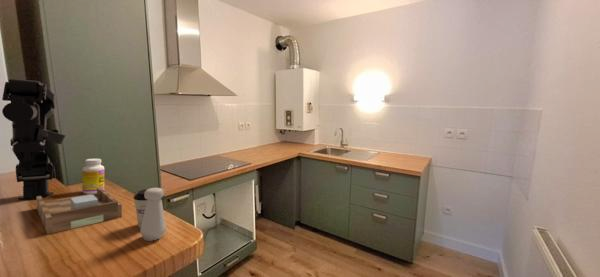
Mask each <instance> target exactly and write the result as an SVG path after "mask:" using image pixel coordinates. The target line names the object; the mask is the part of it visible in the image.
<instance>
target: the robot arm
mask: <svg viewBox="0 0 600 277" xmlns="http://www.w3.org/2000/svg"><path fill="white" fill-rule="evenodd" d="M3 88H4V89H3V94H2V101H6V102H10V103H7V104H5V105H4V106H3V108H2V115H3V117H4V118H5V119H6V120H8V121H10V122H11V128H12V129H11V131H12V137H11V138H10V140H9V141H10V147H11V146H12V148H11V150H12V152H13V154H14V156H15V157H16V159H17V160H18V164H17V163H16V166H15V177H16V182H17V183H20V182H22V185H23V186H22V195H21V196H18V197H17V198H18V200H36V196H41V197H42V199H44V198H45V197H49V196H50V195H51V196H52V195H53V194H54V191H49V180H50V181H51V180H53V179H56V169H55V166H54V165H53V163H52V162H51V161H50V158H49V155H47V153H46V152H45V151H46V141H47V142H52V143H55V144H58V145H62V144H63V142H64V140H65V138H66V136H67V135H65V134H63V133H60V132H59V129H55V128H50V129H49V130H48V129H47V120H48V119H49V118H50V117H51V116H52V115H53V114H54V110H55V109H56V97H55V93H53V92H52V91H50V90H49V89H48V88H47V84H46V83H44V82H41V81H40V80H39V81H38V80H29V79H22V78H21V79H20V78H9V79H8V81H5V83H4V87H3Z"/></svg>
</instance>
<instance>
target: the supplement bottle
mask: <svg viewBox="0 0 600 277" xmlns="http://www.w3.org/2000/svg"><path fill="white" fill-rule="evenodd" d="M81 175H82V176H81V179H82V183H81V184H82V186H81V188H82V189H81V190H82V193H83V194H84V195H88V194H94V193H97V188H98V187H101V188H102V189H103V190H104V191H105V166H104V165H102V158H87V159H85V166H83V167H82V169H81Z"/></svg>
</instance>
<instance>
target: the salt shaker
mask: <svg viewBox="0 0 600 277" xmlns="http://www.w3.org/2000/svg"><path fill="white" fill-rule="evenodd" d="M146 189H147V190H146V191H145V193H144V197H145V199H148V200H147V204H146V208H145V212H144V217H143V221H142V225H141V228H139V230H140V234H141V237H142V238H143V240H144V241H147V242H154V241H158V240H160V239H161V238H162V237H163V236H164V234H165V231H166V229H167V222H166V218H165V213H164V212H165V211H164V207H163V202H162V198H163V197H164V195H165V194H164V193H165V191H164V189H163V188H160V187H151V188H146ZM157 239H158V240H157ZM153 240H154V241H153Z"/></svg>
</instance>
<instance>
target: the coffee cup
mask: <svg viewBox="0 0 600 277" xmlns="http://www.w3.org/2000/svg"><path fill="white" fill-rule="evenodd" d="M147 189H148V188H146V189H145V188H144V189H141V190H139V191H137V193H135V194H134V196H133V200H134V206H135V213H136V220H137V227H138V228H139V229H141V225H142V221H143V217H144V212H145V208H146V204H147V200H148V199H145V197H144V193H145V191H146V190H147Z"/></svg>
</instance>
